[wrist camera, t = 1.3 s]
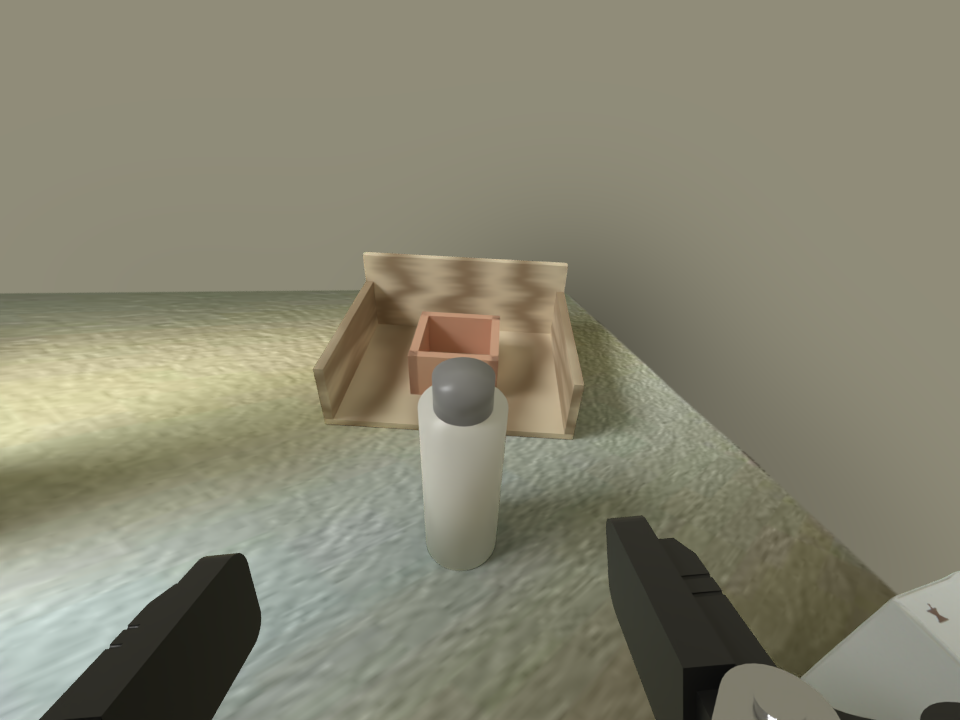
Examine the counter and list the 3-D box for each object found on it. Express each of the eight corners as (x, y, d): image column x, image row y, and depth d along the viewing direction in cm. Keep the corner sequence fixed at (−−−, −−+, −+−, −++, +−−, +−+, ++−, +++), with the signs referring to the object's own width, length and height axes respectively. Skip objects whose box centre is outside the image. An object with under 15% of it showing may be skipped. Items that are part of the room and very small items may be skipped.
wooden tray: (325, 423, 39) (305, 337, 34) (373, 324, 53) (364, 252, 48) (572, 439, 38) (591, 354, 33) (555, 335, 52) (567, 263, 47)
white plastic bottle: (420, 568, 29) (407, 403, 20) (431, 505, 33) (423, 346, 24) (494, 573, 29) (511, 410, 20) (496, 509, 32) (511, 351, 24)
